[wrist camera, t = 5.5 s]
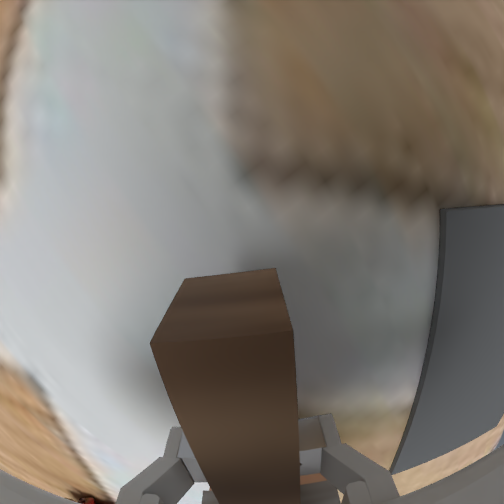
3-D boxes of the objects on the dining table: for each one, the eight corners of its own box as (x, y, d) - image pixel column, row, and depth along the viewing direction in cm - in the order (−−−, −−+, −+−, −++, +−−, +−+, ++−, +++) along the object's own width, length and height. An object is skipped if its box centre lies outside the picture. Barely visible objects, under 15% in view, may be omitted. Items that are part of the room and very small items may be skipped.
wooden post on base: (118, 285, 10) (-30, 452, 2) (349, 258, 10) (519, 434, 2) (206, 496, 14) (198, 597, 6) (333, 485, 13) (356, 586, 6)
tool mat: (440, 209, 13) (446, 210, 13) (554, 201, 13) (559, 202, 12) (389, 470, 20) (391, 475, 19) (494, 422, 19) (496, 426, 19)
